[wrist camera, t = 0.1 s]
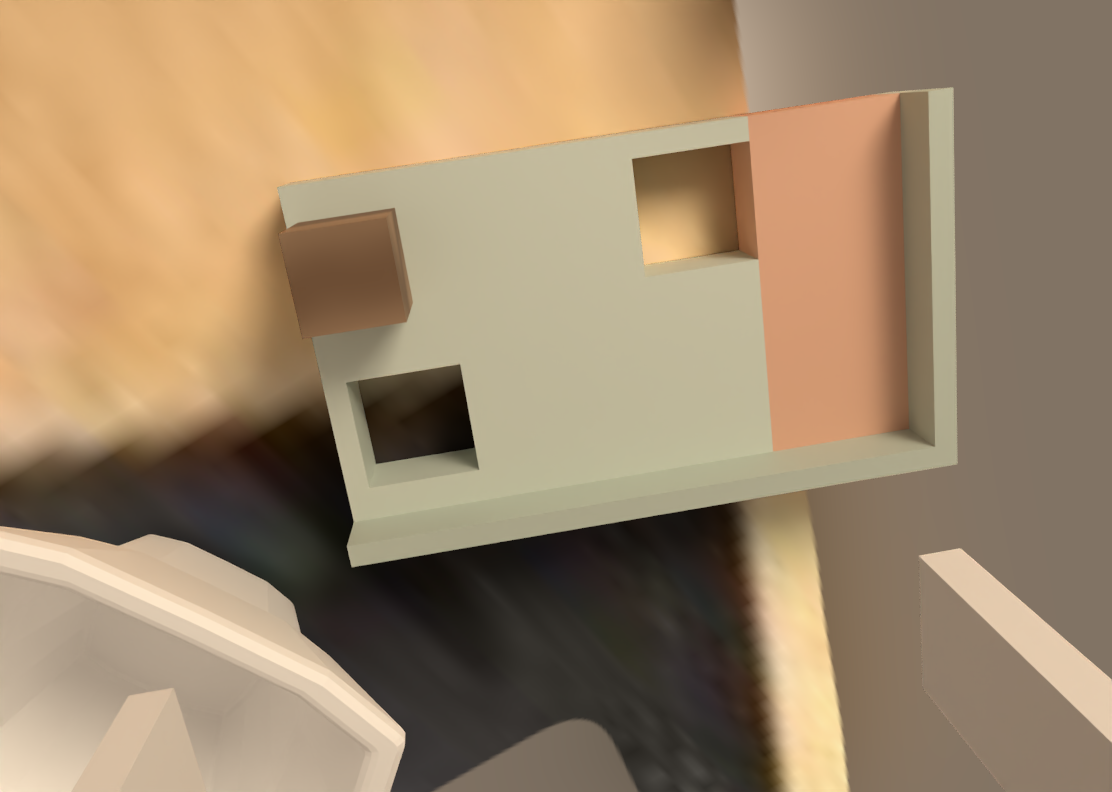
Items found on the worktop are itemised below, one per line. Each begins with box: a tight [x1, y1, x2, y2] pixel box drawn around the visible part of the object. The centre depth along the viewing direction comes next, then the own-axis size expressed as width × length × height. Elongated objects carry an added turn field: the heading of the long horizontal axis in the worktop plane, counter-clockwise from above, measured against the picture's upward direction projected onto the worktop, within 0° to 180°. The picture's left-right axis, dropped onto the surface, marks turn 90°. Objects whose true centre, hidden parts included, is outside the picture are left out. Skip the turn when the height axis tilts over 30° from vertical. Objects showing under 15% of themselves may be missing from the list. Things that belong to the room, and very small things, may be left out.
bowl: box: [0, 526, 405, 792], centre depth 39 cm, size 19×19×14 cm
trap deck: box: [277, 88, 957, 567], centre depth 40 cm, size 16×27×6 cm, turn 98°
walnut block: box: [278, 208, 413, 339], centre depth 36 cm, size 4×4×4 cm
